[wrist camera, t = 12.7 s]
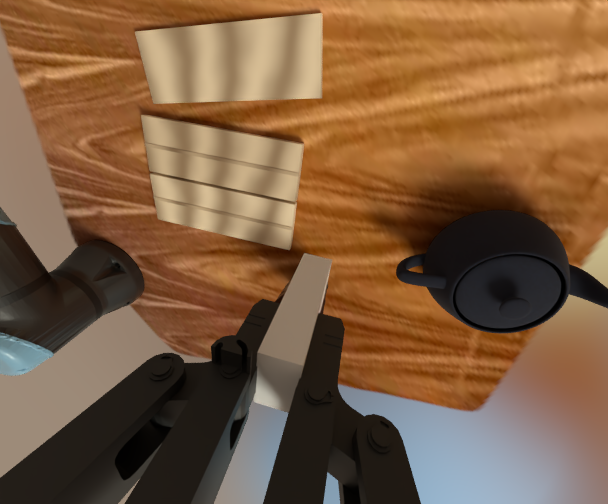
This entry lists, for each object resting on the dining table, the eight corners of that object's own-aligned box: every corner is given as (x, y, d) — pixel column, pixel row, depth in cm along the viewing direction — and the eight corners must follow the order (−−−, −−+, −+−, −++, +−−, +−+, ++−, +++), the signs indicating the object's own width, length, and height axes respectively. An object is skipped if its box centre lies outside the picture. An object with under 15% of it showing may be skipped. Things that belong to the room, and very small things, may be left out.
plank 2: (162, 216, 48) (157, 219, 47) (155, 171, 44) (149, 174, 43) (291, 246, 45) (289, 250, 44) (296, 202, 41) (294, 205, 40)
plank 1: (159, 103, 39) (153, 103, 38) (141, 33, 35) (134, 31, 34) (322, 98, 34) (321, 98, 33) (323, 15, 30) (321, 13, 29)
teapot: (386, 288, 45) (389, 345, 34) (401, 196, 37) (411, 233, 27) (563, 310, 40) (630, 384, 29) (622, 209, 32) (740, 260, 22)
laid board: (154, 169, 44) (149, 171, 43) (146, 114, 40) (140, 115, 39) (297, 199, 41) (295, 202, 40) (304, 143, 37) (302, 144, 36)
